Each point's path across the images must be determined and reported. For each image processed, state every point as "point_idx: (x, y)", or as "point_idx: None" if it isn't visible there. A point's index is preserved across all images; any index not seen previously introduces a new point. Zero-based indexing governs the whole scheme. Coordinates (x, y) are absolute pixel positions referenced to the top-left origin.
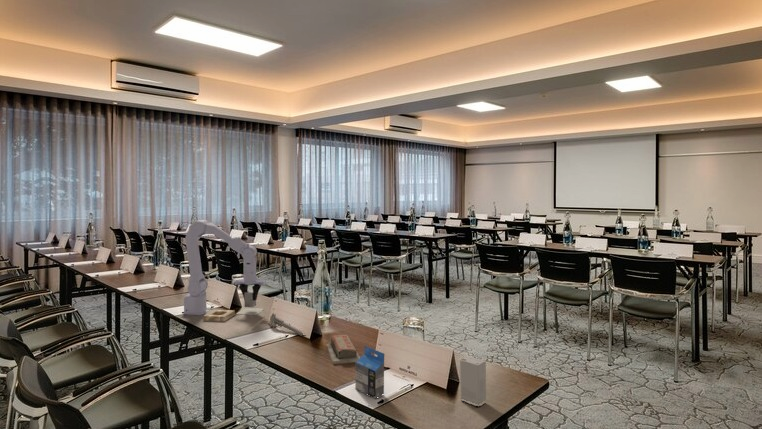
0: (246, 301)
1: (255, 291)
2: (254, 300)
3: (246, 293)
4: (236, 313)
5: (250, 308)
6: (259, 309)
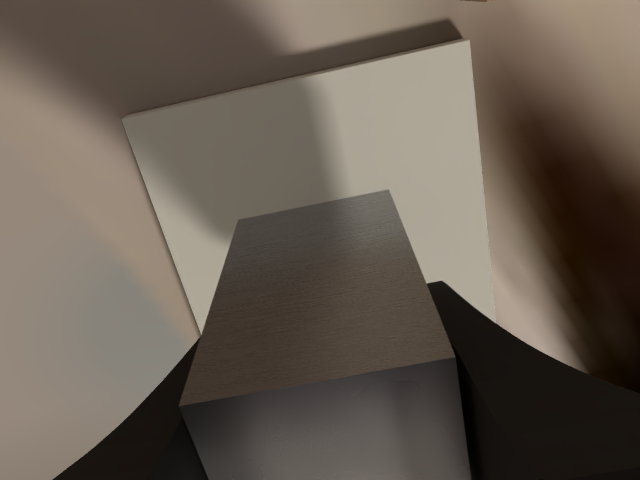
0: (359, 240)
1: (83, 469)
2: None
3: (378, 352)
4: (469, 58)
5: None
6: None
